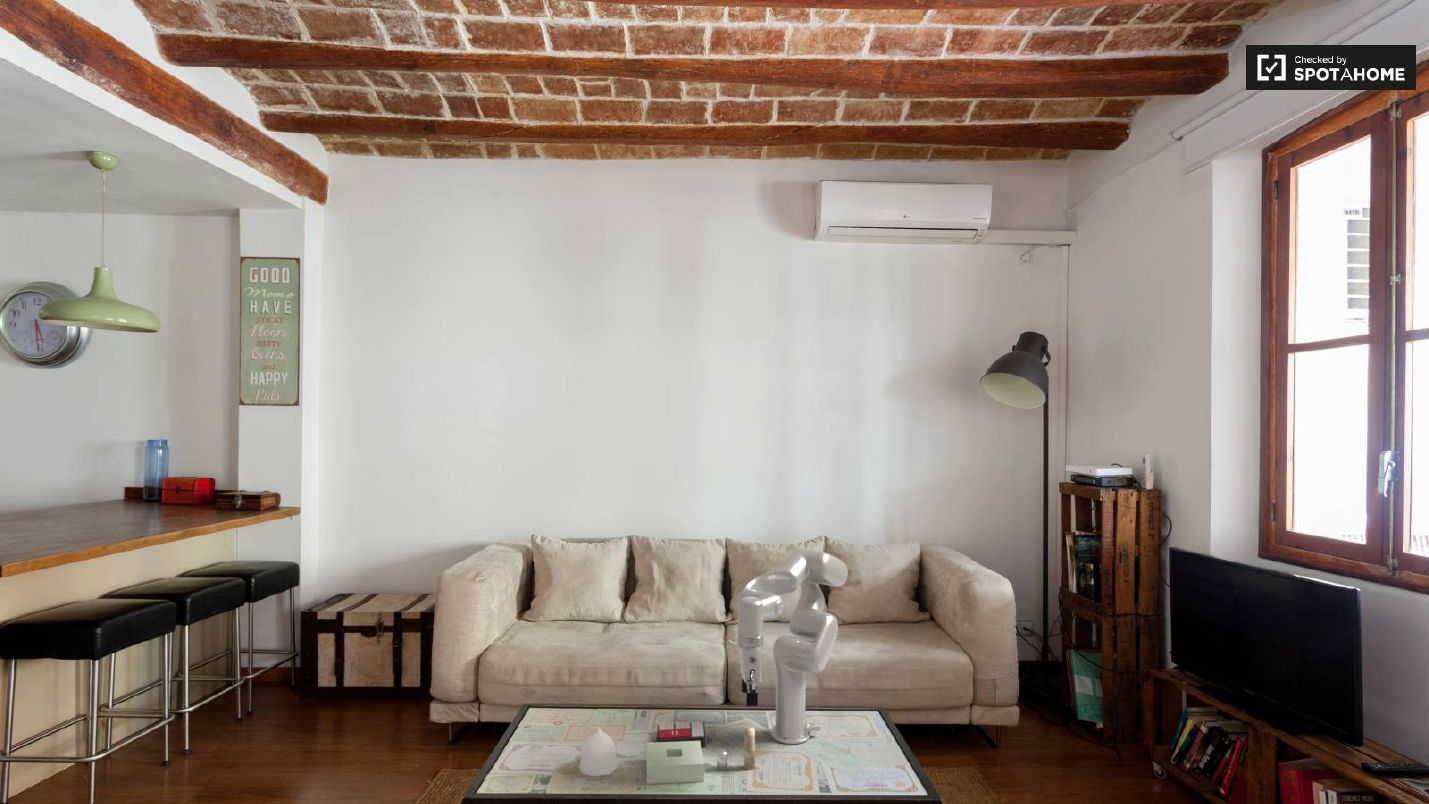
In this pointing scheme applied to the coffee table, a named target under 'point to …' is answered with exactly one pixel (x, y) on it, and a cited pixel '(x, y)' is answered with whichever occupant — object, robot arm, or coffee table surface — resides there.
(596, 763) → the teardrop
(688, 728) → the calculator
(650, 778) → the peg block
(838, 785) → the coffee table surface
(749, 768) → the long pin
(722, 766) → the short pin
